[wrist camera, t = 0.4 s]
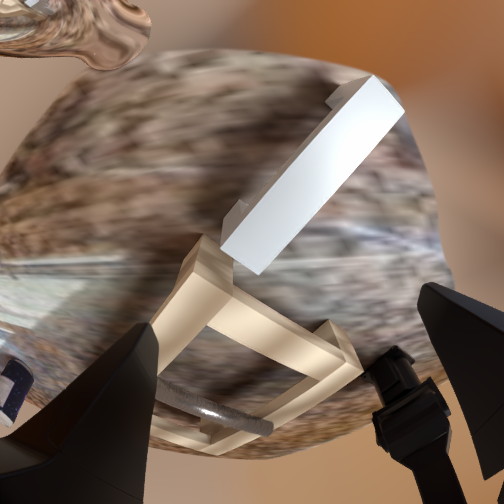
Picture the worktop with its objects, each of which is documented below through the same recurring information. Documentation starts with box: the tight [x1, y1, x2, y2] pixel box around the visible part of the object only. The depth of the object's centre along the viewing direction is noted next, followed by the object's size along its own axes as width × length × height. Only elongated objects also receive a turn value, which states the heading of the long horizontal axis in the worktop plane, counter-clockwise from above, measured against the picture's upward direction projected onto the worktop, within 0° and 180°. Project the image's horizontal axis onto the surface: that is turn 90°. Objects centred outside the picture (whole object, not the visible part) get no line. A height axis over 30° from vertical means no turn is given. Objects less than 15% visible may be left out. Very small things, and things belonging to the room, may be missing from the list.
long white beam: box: [220, 75, 405, 275], centre depth 17 cm, size 3×14×6 cm, turn 141°
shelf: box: [149, 234, 364, 455], centre depth 25 cm, size 18×24×6 cm
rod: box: [155, 377, 274, 437], centre depth 22 cm, size 15×2×2 cm, turn 51°
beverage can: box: [0, 359, 34, 428], centre depth 24 cm, size 6×6×12 cm
